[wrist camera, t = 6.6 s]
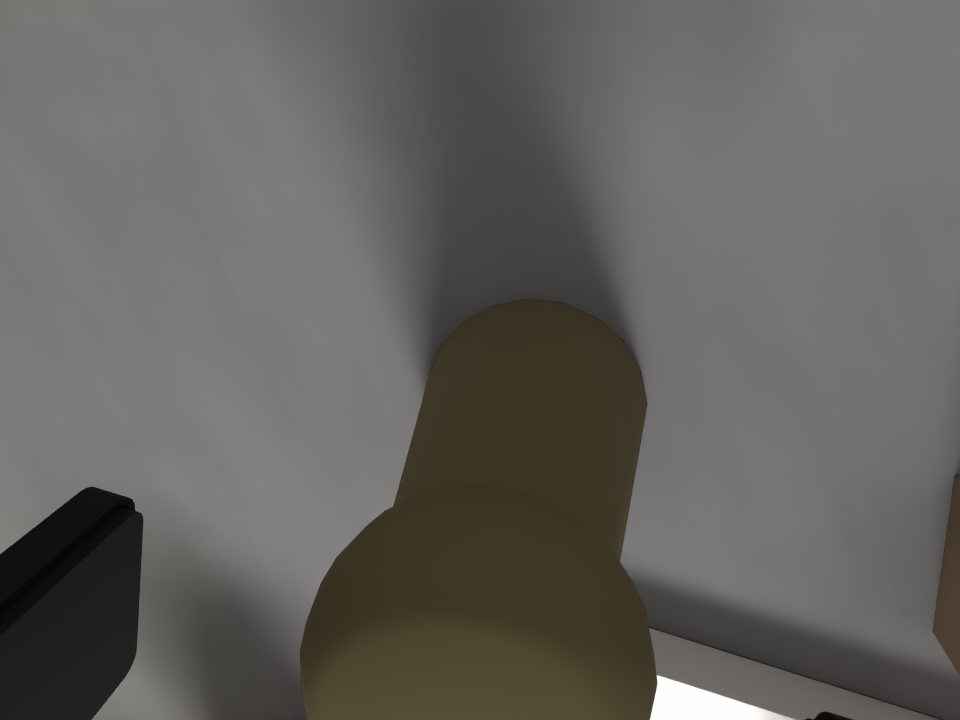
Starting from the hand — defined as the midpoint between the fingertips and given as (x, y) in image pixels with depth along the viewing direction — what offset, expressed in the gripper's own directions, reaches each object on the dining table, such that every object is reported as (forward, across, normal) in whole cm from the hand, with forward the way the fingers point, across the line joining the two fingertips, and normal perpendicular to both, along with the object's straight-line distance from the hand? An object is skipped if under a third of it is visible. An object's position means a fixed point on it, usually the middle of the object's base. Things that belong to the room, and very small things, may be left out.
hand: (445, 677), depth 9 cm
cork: (+10, 0, 0) cm, 10 cm away
